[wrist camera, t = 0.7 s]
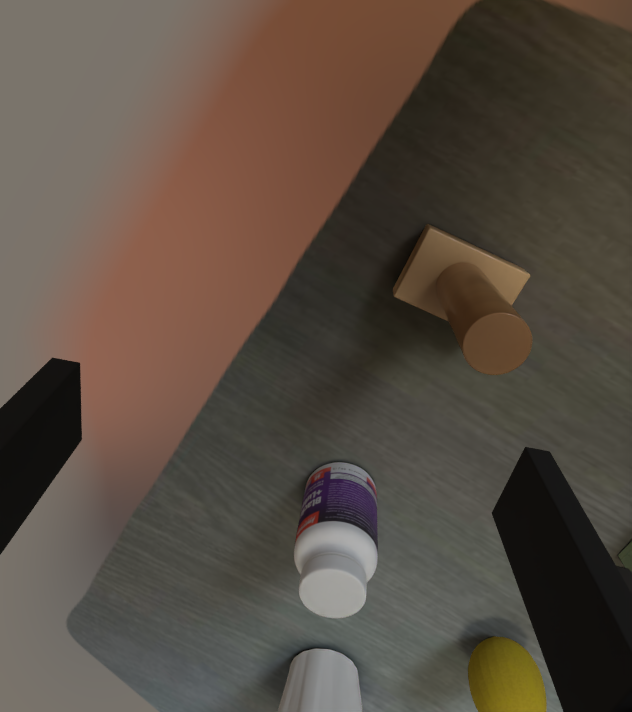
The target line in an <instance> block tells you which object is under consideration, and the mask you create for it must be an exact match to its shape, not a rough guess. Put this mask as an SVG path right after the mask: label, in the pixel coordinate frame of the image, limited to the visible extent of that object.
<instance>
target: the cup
mask: <svg viewBox="0 0 632 712" xmlns="http://www.w3.org/2000/svg"><path fill="white" fill-rule="evenodd" d="M278 712H363V709H362V701H361V693H360V686H359V678H358V670H357V668H356V667H355V665H354V663H353V662H352V661H351V660H350V659H349V658H347V657H346V656H345V655H343V654H342V653H339V652H336V651H333V650H330V649H316V648H315V649H311V650H307V651H303V652H302V653H300V654H299V655H297V656H296V657H294V659H293V661H292V663H291V665H290V670H289V674H288V677H287V681H286V684H285V688H284V691H283V695H282V698H281V702H280V705H279V709H278Z"/></svg>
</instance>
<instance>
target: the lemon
mask: <svg viewBox="0 0 632 712" xmlns="http://www.w3.org/2000/svg"><path fill="white" fill-rule="evenodd" d="M468 678H469V686H470V691H471V695H472V698H473V701H474V703H475V705H476V708H477V710H478V712H546V693H545V688H544V684H543V680H542V676H541V673H540V671H539V669H538V667H537V665H536V663H535V661H534V660H533V658H532V657H531V655H530V654H529V653H528V651H527V650H526V649H524V648H523V647H522V646H521V645H520V644H518V643H517V642H515V641H513V640H511V639H508V638H505V637H496V636H493V637H491V638H488V639H485V640H483V641H482V642H481V643H479V644H478V645H477V646H476V648H475V649H474V651H473V652H472V654H471V657H470V661H469V666H468Z"/></svg>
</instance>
